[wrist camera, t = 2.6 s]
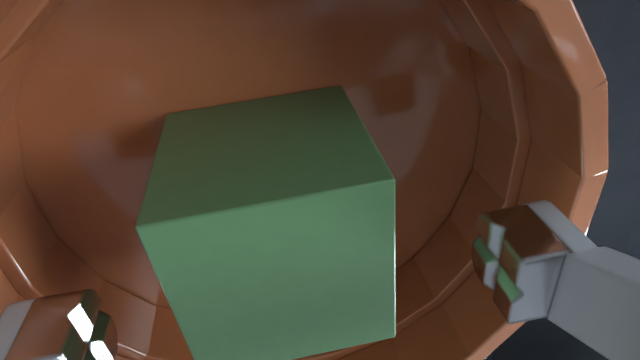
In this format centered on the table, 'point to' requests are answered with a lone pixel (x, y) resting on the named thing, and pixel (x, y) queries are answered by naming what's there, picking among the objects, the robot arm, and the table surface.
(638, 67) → the table surface
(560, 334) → the table surface
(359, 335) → the block
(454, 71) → the pan
